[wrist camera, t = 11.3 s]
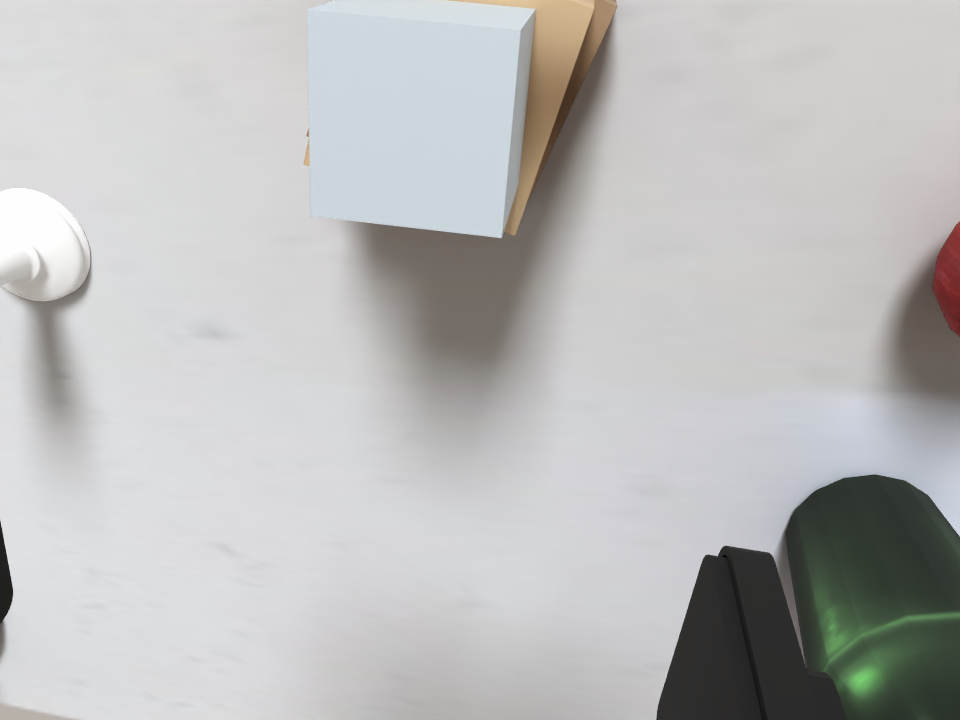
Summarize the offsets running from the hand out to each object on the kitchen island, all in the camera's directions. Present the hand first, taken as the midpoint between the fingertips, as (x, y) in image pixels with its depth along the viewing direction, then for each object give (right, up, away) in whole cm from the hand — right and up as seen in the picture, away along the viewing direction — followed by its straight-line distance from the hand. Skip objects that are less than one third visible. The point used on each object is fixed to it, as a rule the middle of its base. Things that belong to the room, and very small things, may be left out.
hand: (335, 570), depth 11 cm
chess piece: (-17, +8, +26) cm, 32 cm away
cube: (+1, +11, +14) cm, 18 cm away
